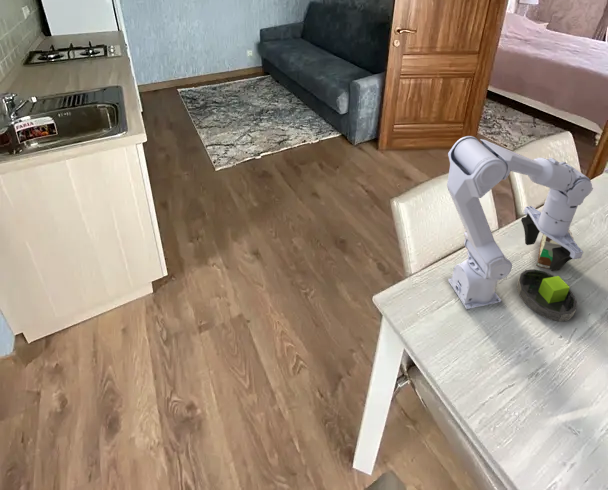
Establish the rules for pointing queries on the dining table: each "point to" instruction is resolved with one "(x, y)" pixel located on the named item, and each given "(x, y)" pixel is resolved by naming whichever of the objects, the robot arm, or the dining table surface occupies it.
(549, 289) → the green block
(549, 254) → the food container
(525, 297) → the bowl
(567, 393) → the dining table surface
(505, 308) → the dining table surface
